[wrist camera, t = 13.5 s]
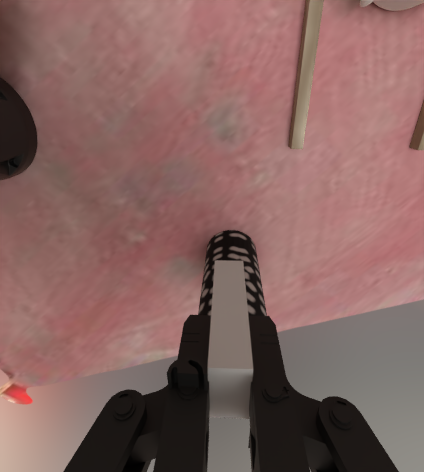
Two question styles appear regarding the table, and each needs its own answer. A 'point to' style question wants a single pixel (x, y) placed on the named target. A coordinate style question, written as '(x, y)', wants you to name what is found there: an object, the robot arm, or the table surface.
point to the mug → (392, 4)
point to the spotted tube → (233, 249)
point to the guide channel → (308, 48)
